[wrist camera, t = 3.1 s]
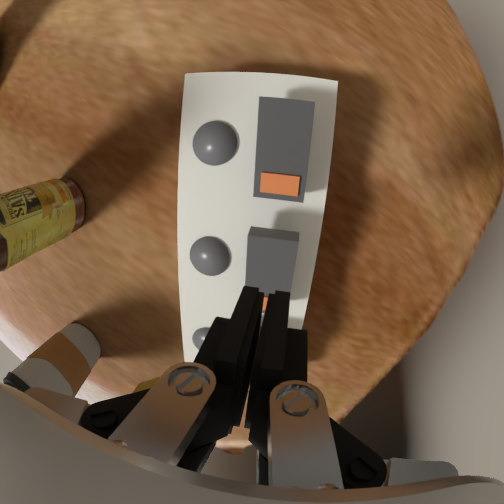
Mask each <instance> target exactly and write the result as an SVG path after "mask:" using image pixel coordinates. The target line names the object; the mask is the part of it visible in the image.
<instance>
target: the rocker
mask: <svg viewBox="0 0 504 504" xmlns="http://www.w3.org/2000/svg"><path fill="white" fill-rule="evenodd" d="M314 108H315V102H312V101H305V100H296V99H287V98H276V97H262V96H259V108H258V124H257V141H256V157H255V174H254V191H253V197H259V198H268V199H277V200H285V201H293V202H300V203H303V202H304V195H305V187H306V179H307V172H308V163H309V155H310V146H311V137H312V128H313V118H314Z"/></svg>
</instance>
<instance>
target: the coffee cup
mask: <svg viewBox="0 0 504 504" xmlns="http://www.w3.org/2000/svg"><path fill="white" fill-rule="evenodd" d="M100 352H101V349H100V345H99V343H98V341H97V339H96V338H95V336H94V335H93V334H92V333H91V332H90V331H89V330H88V329H87V328H86V327H84V326H82V325H81V324H78V323H73V324H68V325H67V326H66V327H64V328H63V329H62V330H61V331H59V332H58V333H56V334H55V335H54V336H52V337H51V338H50V339H49V340H47V341H46V342H45V343H44V344H43V345H41V346H40V347H39V348H38V349H37V350H35V351H34V352H33V353H32V354H31V355H29V356H28V357H27V359H26V360H25V361H24V362H22V363H21V364H20V365H19V366H18V367H17V368H16V369H14V370H13V371H12V372H9V373H8V374H7V376H6V377H5V378H4V379H3V381H4V384H6V385H9V386H11V387H14V388H16V389H17V390H19V391H21V392H23V393H24V392H25V391H26V390H28V389H30V388H33V387H41V388H44V389H47V390H51V391H54V392H57V393H60V394H64V395H67V396H71V397H75V395H76V394H77V392H78V391H79V389H80V388H81V386H82V385H83V383H84V381H85V380H86V378H87V377H88V375H89V374H90V372H91V370H92V368H93V367H94V365H95V364H96V362H97V361H98V359H99V358H100Z"/></svg>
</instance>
